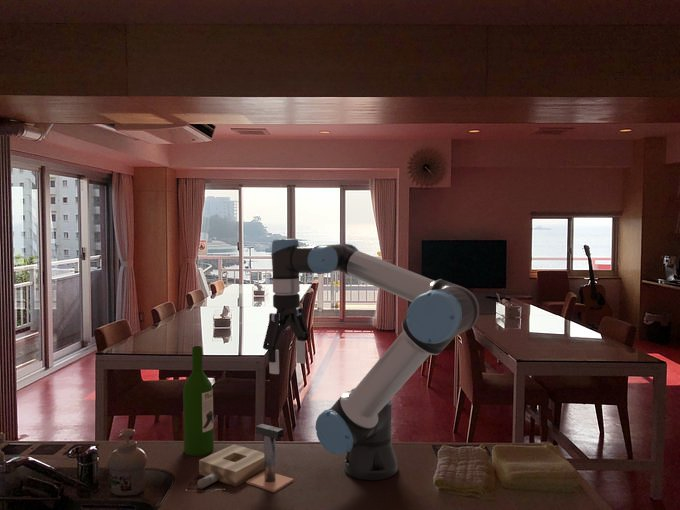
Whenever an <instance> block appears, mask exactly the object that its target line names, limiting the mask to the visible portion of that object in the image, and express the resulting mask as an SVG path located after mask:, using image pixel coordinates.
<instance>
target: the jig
mask: <svg viewBox="0 0 680 510" xmlns="http://www.w3.org/2000/svg"><path fill="white" fill-rule="evenodd" d="M262 472H264V452H263V451H259V450H255V449H252V448H250V447H249V448H248V447H245V446H242V445H237V444H231V445H229V446H227V447H225V448H223V449H220V450H219V451H215V452H214V453H212V454H210V455H208V456H206V457H203V458H201V459H199V460H198V474H199V475H200V476H204V477H202V478H200V479H198V480H197V486H198V487H197V488H199V489H201V490H202V489H205V488H206V487H209V486H210V485H213V484H214V483H217V482H218V481H219V482H222V483H224V484H227V485H230V486H233V487H238V486H240V485H241V484H243V483H246V481H247V480H249V479H251V478H253V477H255V476H256V475H258V474H260V473H262Z"/></svg>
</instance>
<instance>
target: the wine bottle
mask: <svg viewBox="0 0 680 510" xmlns="http://www.w3.org/2000/svg"><path fill="white" fill-rule="evenodd" d="M191 355H192V357H191V359H192V361H191V363H192V364H191V365H192V367H191V368H192V369H191V370H192V371H191V373H190V374H189V376H188V378H187V379H186V380H185V381H186V382H185V383H184V385H183V388H182V401H183V403H182V404H183V405H182V406H183V410H182V412H183V413H182V414H183V417H182V419H183V451H184V454H186V455H187V456H193V457H197V456H198V457H200V456H205V455H208V454H210V453H211V452H213V450H214V394H213V393H214V389H213V385H212V382H211V381H210V379H209V378H208V376H207V374H205V372H204V368H203V367H204V365H203V364H204V363H203V346H201V345H196V346H192V354H191Z"/></svg>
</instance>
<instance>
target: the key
mask: <svg viewBox="0 0 680 510" xmlns="http://www.w3.org/2000/svg"><path fill="white" fill-rule="evenodd" d="M255 434H256V435H261V436H263V449H264V450H263V451H264V452H263V453H264V471H263V472H264V476H265V482H274V481H275V480H276V474H277V473H276V472H277V471H276V469H277V468H276V440H279V439H280V438H283V437H284V428H280V427H276V426H273V425H268V424H264V423H260V424H258V425H256V426H255Z"/></svg>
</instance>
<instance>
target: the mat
mask: <svg viewBox="0 0 680 510" xmlns="http://www.w3.org/2000/svg"><path fill="white" fill-rule="evenodd" d="M293 482H294V478H291V477H290V476H285V475H282V474H278V473H276V480H275V481H274V482H265V476H264V471H263V472H261V473H260V474H258V475H256V476H254V477H252V478H250V479H249V480H247V481H245V483H246V484H248V485H250V486H254V487H257V488H260V489H264V490H266V491H268V492H272V493H277V492H278V491H280V490H281V489H283V488H285V487H286V486H288V485H289V484H291V483H293Z"/></svg>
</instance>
